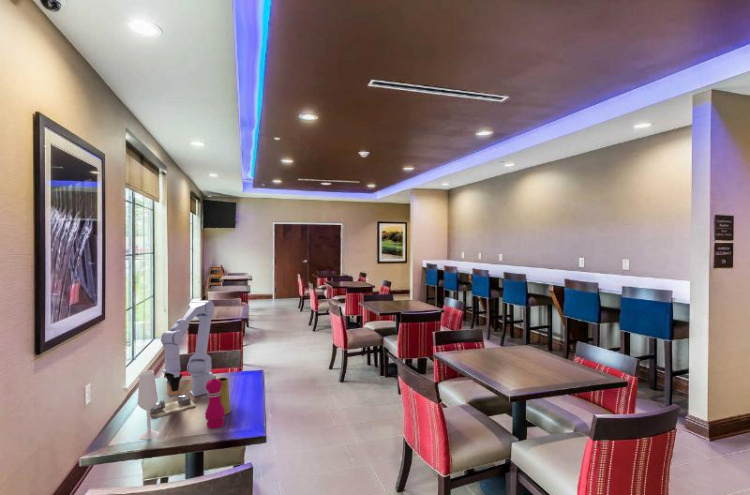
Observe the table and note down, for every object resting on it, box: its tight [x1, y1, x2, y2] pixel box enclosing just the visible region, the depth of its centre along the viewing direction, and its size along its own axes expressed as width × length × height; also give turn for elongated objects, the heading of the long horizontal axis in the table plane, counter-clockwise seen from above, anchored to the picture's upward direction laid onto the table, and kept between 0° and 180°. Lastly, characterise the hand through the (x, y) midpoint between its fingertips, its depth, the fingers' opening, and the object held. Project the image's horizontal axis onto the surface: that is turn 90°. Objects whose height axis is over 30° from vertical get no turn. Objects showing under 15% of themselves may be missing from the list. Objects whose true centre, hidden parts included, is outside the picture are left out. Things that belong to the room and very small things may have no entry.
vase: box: [217, 377, 231, 416], centre depth 175 cm, size 6×6×14 cm
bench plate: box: [150, 400, 196, 419], centre depth 181 cm, size 17×11×1 cm, turn 127°
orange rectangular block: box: [166, 380, 181, 398], centre depth 179 cm, size 4×4×6 cm
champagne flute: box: [137, 370, 160, 441], centre depth 156 cm, size 7×7×24 cm
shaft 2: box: [176, 393, 192, 405], centre depth 184 cm, size 5×4×5 cm
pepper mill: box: [204, 374, 226, 430], centre depth 163 cm, size 7×7×20 cm
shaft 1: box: [150, 400, 166, 414], centre depth 176 cm, size 5×4×5 cm
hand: (173, 389), depth 179 cm, fingers closed on orange rectangular block, 4 cm apart
